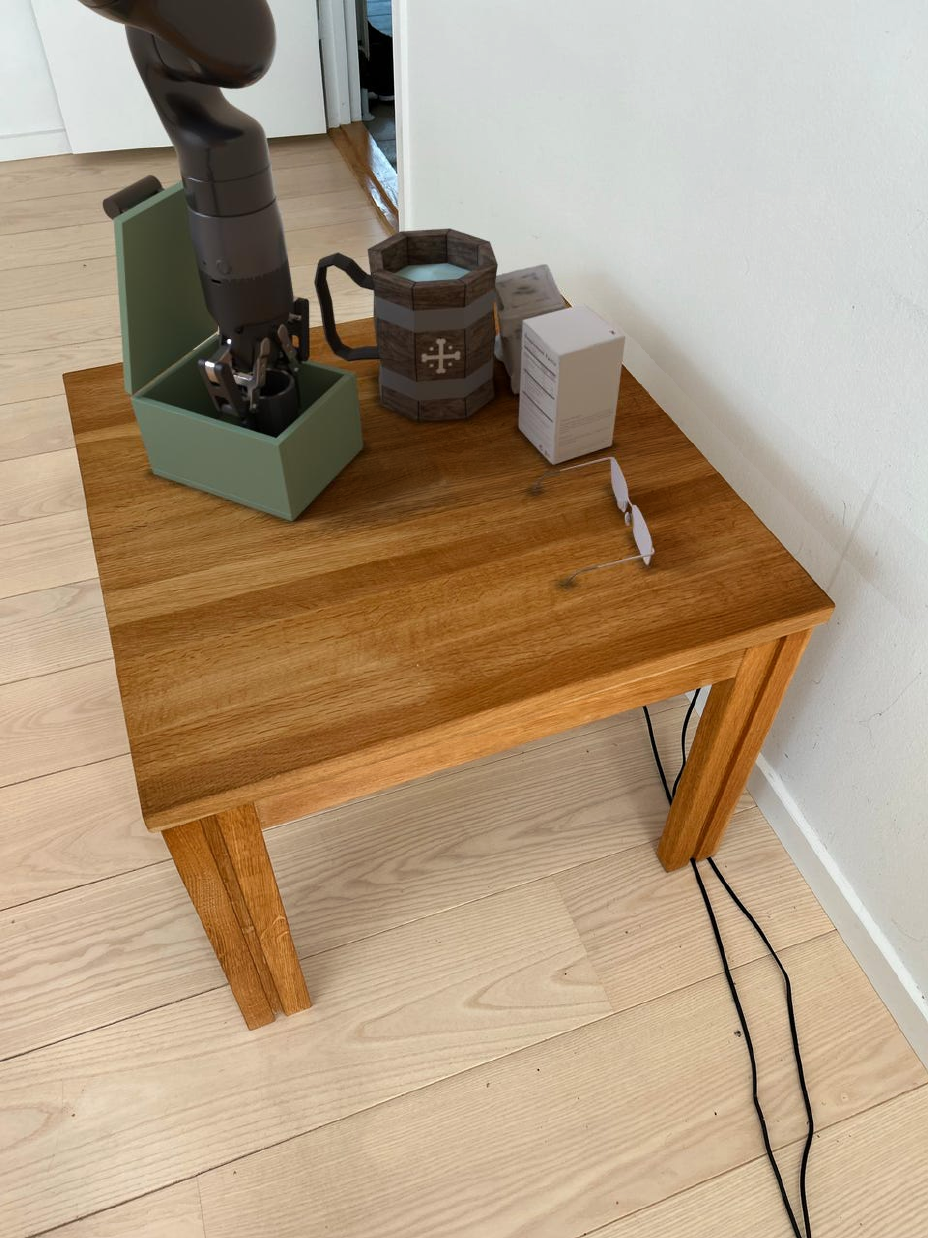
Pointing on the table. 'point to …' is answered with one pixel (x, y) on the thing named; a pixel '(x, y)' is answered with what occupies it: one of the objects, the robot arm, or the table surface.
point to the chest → (250, 437)
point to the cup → (277, 401)
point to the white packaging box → (569, 382)
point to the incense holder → (521, 311)
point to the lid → (156, 280)
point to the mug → (425, 321)
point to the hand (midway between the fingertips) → (272, 424)
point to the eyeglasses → (622, 501)
